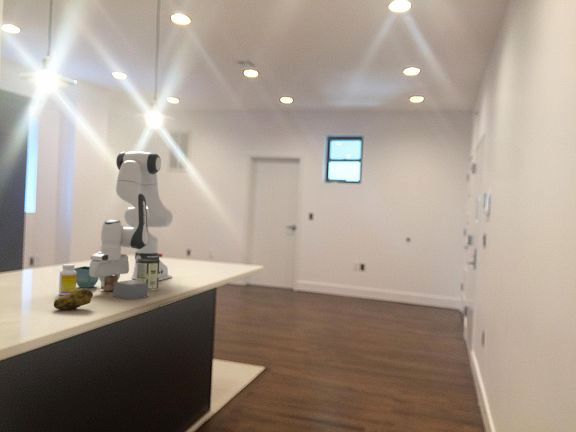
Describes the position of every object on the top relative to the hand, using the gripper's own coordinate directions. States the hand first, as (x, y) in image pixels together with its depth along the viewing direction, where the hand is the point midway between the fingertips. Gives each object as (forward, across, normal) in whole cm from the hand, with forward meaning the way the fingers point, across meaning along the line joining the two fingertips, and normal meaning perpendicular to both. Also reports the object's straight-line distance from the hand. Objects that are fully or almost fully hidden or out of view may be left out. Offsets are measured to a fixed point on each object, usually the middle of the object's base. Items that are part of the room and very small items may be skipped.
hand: (109, 285), depth 225 cm
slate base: (+2, +3, +17) cm, 18 cm away
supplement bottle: (+3, +18, -5) cm, 19 cm away
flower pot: (+3, 0, -15) cm, 15 cm away
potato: (+2, +35, +21) cm, 41 cm away
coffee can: (+3, -16, +8) cm, 18 cm away
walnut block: (+2, 0, 0) cm, 2 cm away
